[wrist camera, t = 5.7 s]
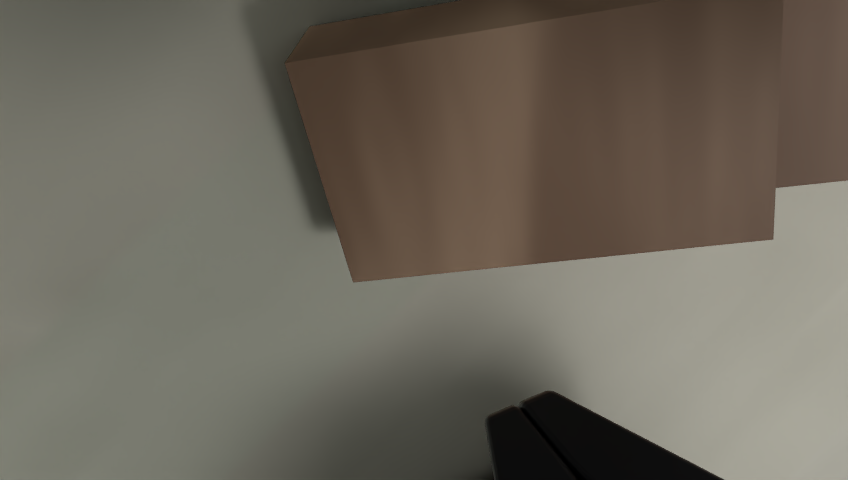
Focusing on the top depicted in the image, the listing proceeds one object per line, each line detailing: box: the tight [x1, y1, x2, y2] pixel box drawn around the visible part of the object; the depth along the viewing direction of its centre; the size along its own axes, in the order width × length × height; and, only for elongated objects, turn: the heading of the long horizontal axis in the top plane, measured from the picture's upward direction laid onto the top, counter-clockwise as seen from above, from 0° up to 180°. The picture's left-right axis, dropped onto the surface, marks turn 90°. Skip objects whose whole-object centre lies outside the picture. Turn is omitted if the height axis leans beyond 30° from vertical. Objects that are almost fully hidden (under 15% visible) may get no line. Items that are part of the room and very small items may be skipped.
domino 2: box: [775, 0, 848, 188], centre depth 16 cm, size 2×5×8 cm
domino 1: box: [285, 0, 784, 282], centre depth 15 cm, size 2×5×8 cm
